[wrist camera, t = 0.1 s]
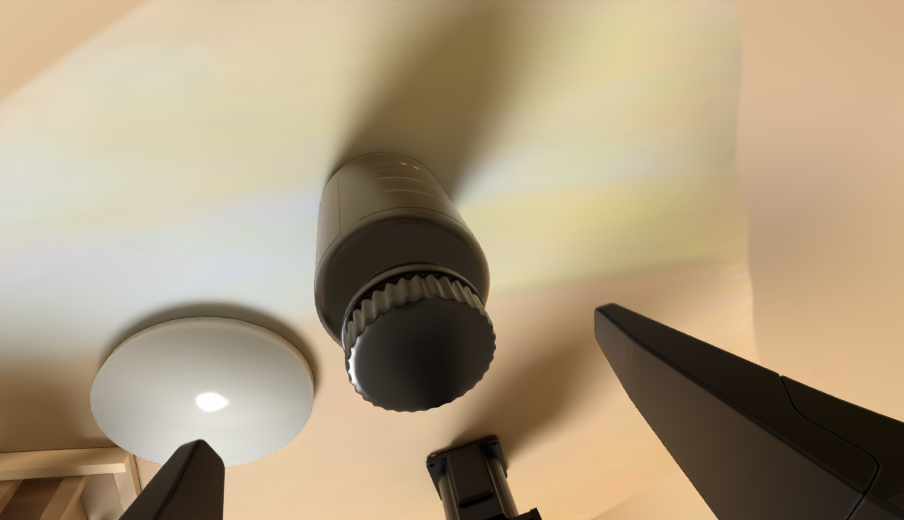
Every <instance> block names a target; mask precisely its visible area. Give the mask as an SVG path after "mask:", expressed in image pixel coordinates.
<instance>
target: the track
mask: <svg viewBox="0 0 904 520" xmlns="http://www.w3.org/2000/svg"><path fill="white" fill-rule="evenodd" d="M105 473H113V474H114V478H115V482H116V486H117V490H118V495H119V499H120V503H121V507H122V511H123V513H124V512H125V511H126V510H127V509H128V507H129V506H130V505H131V504H132V502H133V501H134V500H135V499H136V498H137V496H138V495H139V494H140V493H141V490H140V485H139V480H138V475H137V470H136V465H135V459H134V454H132V453H129V452H128V451H126V450H124V449H123V448H121V447H110V448H91V449H71V450H51V451H32V452H12V453H0V481H1V480H16V479H31V478H46V477H60V476H75V475H90V474H105Z"/></svg>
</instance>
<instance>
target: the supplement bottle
mask: <svg viewBox="0 0 904 520" xmlns="http://www.w3.org/2000/svg"><path fill="white" fill-rule="evenodd" d="M489 287H490V275H489V268H488V263H487V260H486V257H485V255H484V252H483V250H482V248H481V246H480V245H479V243H478V241H477V240H476V238H475V236H474V235H473V233H472V232H471V230H470V229H469V227H468V226H467V224H466V223H465V221H464V220H463V218H462V217H461V215H460V214H459V212H458V211H457V209H456V208H455V206H454V205H453V203H452V202H451V200H450V199H449V197H448V196H447V194H446V193H445V192H444V190H443V189H442V187H441V186H440V184H439V183H438V181H437V180H436V179H435V177H434V176H433V175H432V174H431V173H430V172H429V171H428V170H427V169H426V168H425V167H424V166H422V165H421V164H420V163H418V162H416V161H415V160H413V159H411V158H408V157H406V156H402V155H399V154H394V153H373V154H368V155H364V156H361V157H359V158H356V159H354V160H352V161H350V162H348V163H347V164H345V165H344V166H343V167H341V168H340V169H339V170H338V171H337V172H336V173H335V174H334V175H333V176H332V178H331V179H330V180H329V182H328V183H327V185H326V187H325V189H324V192H323V194H322V197H321V201H320V207H319V215H318V230H317V246H316V262H315V278H314V298H315V306H316V310H317V313H318V316H319V319H320V321H321V323H322V325H323V327H324V328H325V330H326V331H327V333H328V334H329V335H330V336H331V338H332V339H333V340H334V341H335V342H336V343H337V344H338V345H339V346H341V347H342V348H343V349H344V352H345V366H346V370H347V372H348V375H349V381H350V383H351V384H352V385H354V387H355V391H356V392H357V393H359V394H361V395H362V397H363V399H364V400H366V401H369V402H371V403H372V404H373V405H374V406H378V407H382V408H384V409H385V410H395V411H397V412H404V411H407V412H416V411H426V410H429V409H431V408H437V407H440V406H442V405H443V404H446V403H450V402H452V401H453V400H455V399H456V398H458V397H461V396H463V395H464V394H465V393H466V392H467V391H468V390H470V389H472V388H474V386H475V385H476V383H477V382H479V381H480V380H481V379H482V378H483V375H484V373H485V372H486V371H487V370H488V369H489V365H490V363H491V361H492V360H493V359H494V355H493V353H494V351H495V349H496V345H495V339H496V335H495V332H494V330H493V324H492V321H491V319H490V318H489V316H488V314H487V312H486V310H485V305H486V302H487V298H488V294H489Z"/></svg>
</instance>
